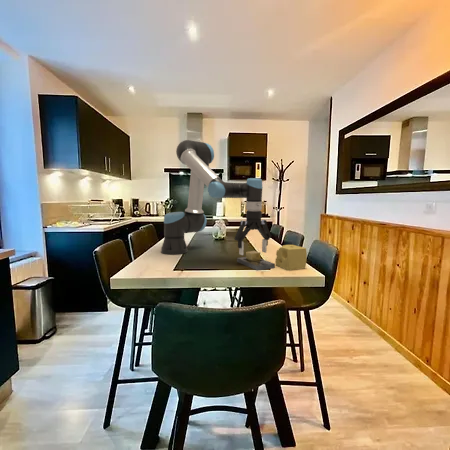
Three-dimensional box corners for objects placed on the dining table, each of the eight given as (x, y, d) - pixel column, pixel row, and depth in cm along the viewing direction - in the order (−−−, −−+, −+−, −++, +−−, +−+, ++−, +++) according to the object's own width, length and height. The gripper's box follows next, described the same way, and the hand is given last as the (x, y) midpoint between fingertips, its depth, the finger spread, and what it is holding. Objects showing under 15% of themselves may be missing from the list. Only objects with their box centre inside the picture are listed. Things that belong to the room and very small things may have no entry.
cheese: (275, 265, 135) (275, 245, 134) (293, 263, 140) (294, 244, 138) (287, 271, 126) (288, 249, 125) (307, 268, 130) (307, 247, 129)
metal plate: (236, 261, 142) (237, 257, 142) (253, 259, 146) (253, 255, 146) (257, 270, 126) (257, 265, 126) (274, 267, 131) (274, 263, 130)
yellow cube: (246, 263, 139) (246, 251, 138) (254, 262, 141) (254, 250, 140) (251, 265, 134) (251, 253, 134) (260, 264, 137) (260, 252, 136)
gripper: (235, 211, 126) (235, 257, 128) (279, 210, 138) (277, 252, 140) (227, 210, 132) (227, 254, 135) (269, 209, 144) (268, 249, 147)
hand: (253, 253), depth 137 cm, fingers open, 13 cm apart
